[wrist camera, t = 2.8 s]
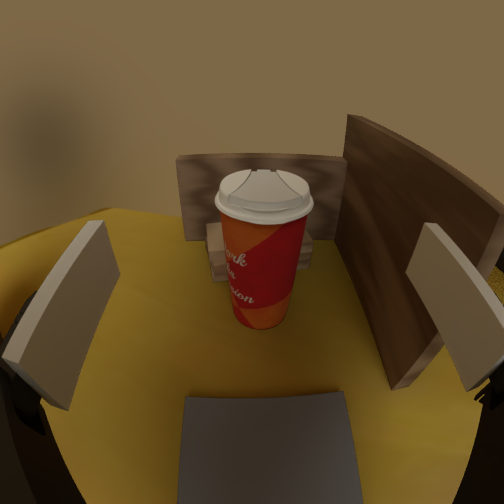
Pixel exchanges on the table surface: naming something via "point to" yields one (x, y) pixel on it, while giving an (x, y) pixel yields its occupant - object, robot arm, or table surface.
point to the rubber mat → (268, 451)
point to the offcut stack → (219, 259)
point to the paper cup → (262, 241)
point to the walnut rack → (370, 224)
